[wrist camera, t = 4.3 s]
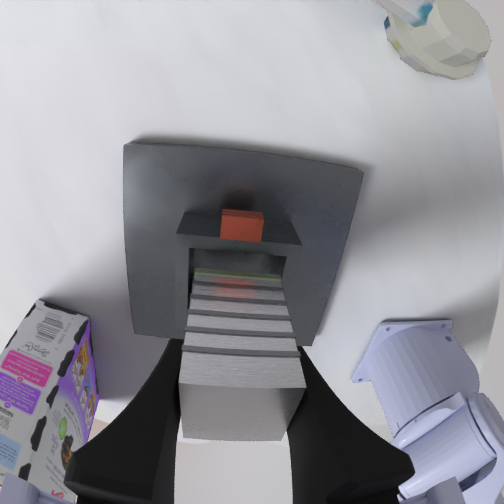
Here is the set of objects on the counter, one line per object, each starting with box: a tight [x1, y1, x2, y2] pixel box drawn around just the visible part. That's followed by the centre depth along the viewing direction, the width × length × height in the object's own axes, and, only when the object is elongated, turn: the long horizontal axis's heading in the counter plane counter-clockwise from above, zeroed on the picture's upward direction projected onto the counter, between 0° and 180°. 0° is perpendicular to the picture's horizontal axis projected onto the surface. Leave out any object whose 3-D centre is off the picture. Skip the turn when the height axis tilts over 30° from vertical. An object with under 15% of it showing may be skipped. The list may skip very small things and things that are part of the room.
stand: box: [123, 143, 364, 346], centre depth 18 cm, size 14×14×4 cm
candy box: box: [0, 300, 99, 503], centre depth 17 cm, size 14×6×16 cm, turn 163°
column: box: [179, 268, 306, 441], centre depth 12 cm, size 4×4×7 cm
